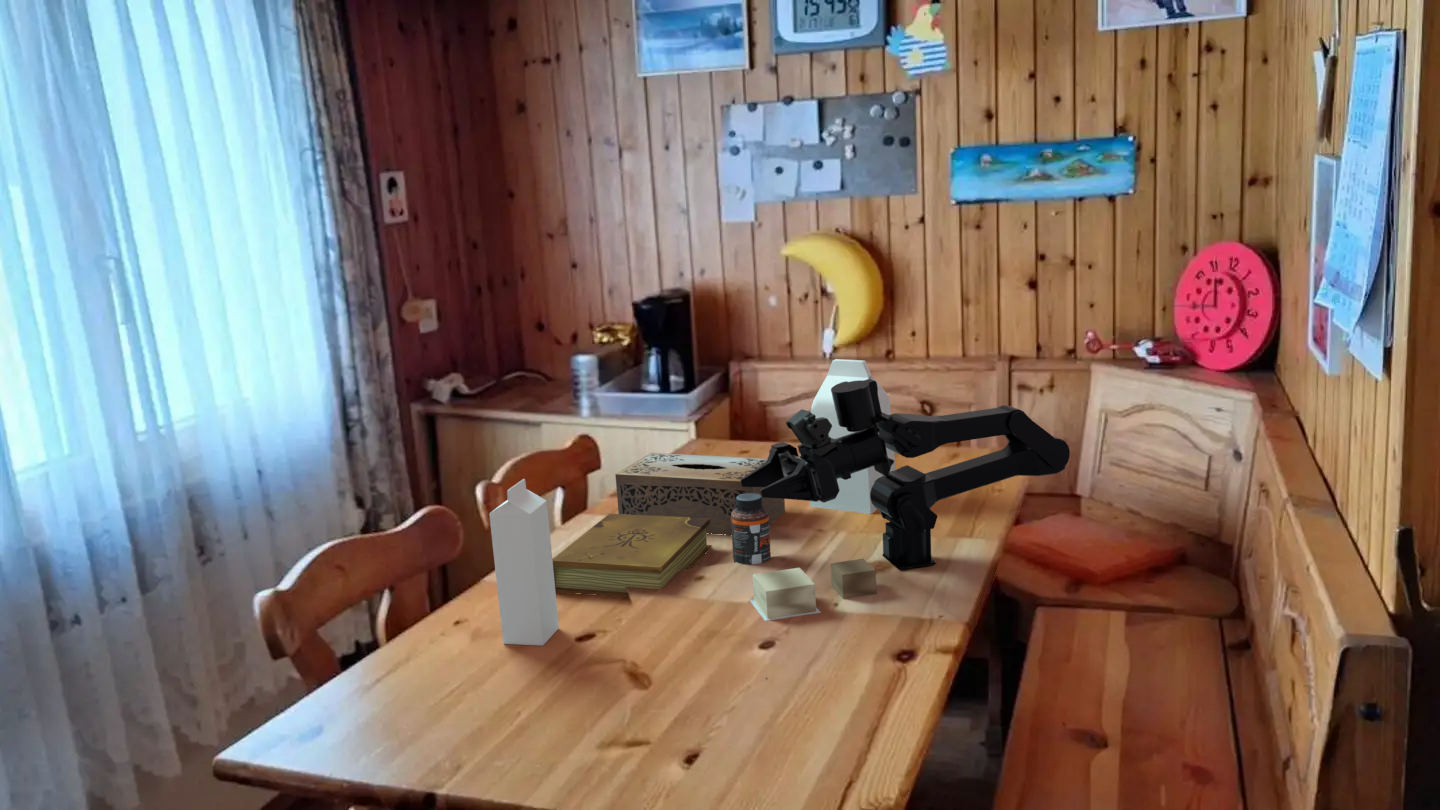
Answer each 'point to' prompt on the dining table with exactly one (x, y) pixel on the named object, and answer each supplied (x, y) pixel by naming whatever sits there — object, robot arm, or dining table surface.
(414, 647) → the dining table surface
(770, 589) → the maple block
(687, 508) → the tissue box cover
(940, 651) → the dining table surface
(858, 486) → the milk
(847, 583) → the walnut cube
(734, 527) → the supplement bottle
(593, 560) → the diary
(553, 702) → the dining table surface
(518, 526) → the milk
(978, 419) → the robot arm
